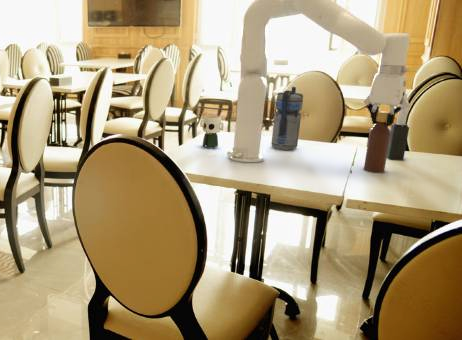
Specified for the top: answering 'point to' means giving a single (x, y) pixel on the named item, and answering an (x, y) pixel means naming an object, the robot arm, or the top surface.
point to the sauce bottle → (377, 148)
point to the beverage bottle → (287, 120)
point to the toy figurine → (211, 130)
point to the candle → (399, 136)
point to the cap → (382, 116)
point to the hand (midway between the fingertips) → (382, 123)
